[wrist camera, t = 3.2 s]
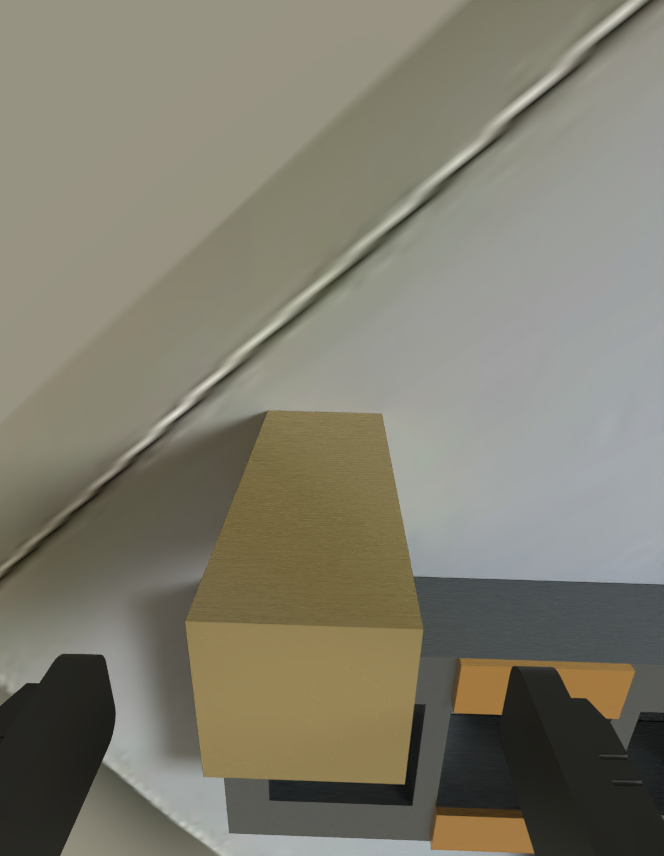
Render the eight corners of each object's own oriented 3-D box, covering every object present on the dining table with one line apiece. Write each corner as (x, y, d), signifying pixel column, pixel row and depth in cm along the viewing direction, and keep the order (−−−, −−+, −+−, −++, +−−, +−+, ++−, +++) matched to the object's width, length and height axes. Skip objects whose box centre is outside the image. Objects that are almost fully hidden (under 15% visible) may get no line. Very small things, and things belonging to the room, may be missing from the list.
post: (268, 410, 18) (185, 622, 8) (381, 414, 18) (423, 628, 8) (271, 508, 19) (203, 776, 10) (375, 511, 19) (404, 784, 10)
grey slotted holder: (235, 571, 20) (209, 657, 16) (784, 588, 20) (892, 680, 16) (246, 739, 24) (227, 841, 20) (706, 756, 24) (778, 862, 20)
